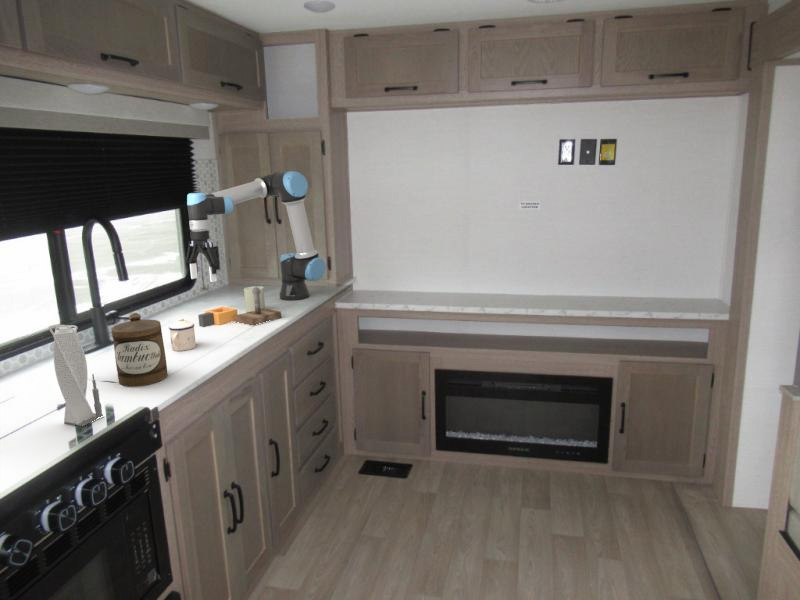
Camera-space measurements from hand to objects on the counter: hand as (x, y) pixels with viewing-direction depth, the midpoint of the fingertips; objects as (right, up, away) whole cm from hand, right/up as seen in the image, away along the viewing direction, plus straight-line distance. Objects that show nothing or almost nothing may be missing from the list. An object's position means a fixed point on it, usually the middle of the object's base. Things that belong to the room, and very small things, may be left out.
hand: (203, 280), depth 253 cm
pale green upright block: (+16, -14, +25) cm, 33 cm away
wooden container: (0, -34, -60) cm, 69 cm away
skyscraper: (-3, -42, -91) cm, 100 cm away
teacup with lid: (+2, -27, -29) cm, 40 cm away
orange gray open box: (+3, -19, +8) cm, 20 cm away
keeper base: (+21, -17, +10) cm, 29 cm away
